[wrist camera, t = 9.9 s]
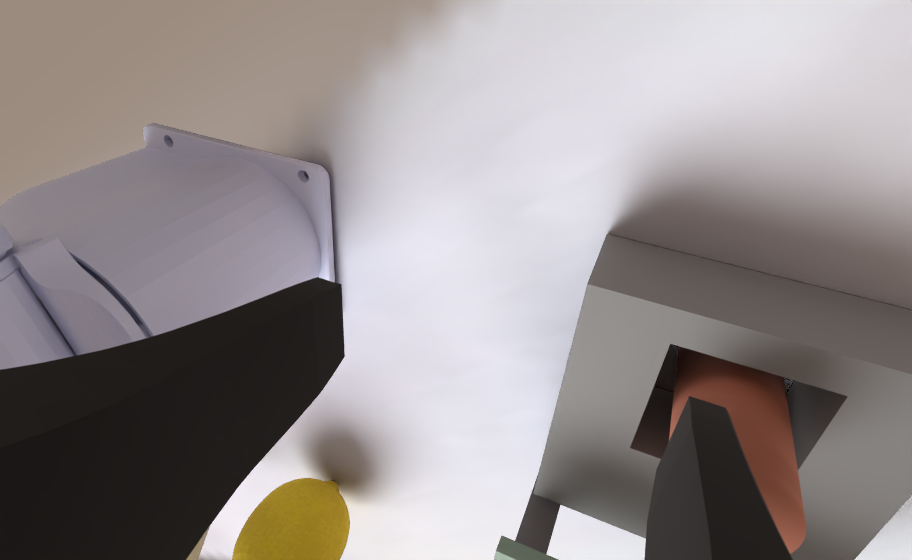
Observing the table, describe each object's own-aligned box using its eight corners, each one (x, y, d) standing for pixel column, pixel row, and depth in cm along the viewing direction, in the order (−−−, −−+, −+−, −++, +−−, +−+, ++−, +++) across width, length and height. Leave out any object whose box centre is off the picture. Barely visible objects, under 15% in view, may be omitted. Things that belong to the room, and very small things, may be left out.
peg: (668, 374, 20) (649, 532, 15) (691, 304, 19) (680, 454, 13) (760, 400, 19) (778, 579, 14) (794, 329, 18) (829, 502, 12)
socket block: (534, 463, 26) (484, 604, 20) (592, 230, 19) (539, 348, 13) (788, 560, 23) (811, 758, 17) (969, 324, 16) (1104, 529, 10)
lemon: (301, 435, 32) (199, 553, 26) (381, 481, 31) (296, 615, 25) (293, 484, 36) (201, 600, 29) (365, 527, 35) (287, 656, 28)
